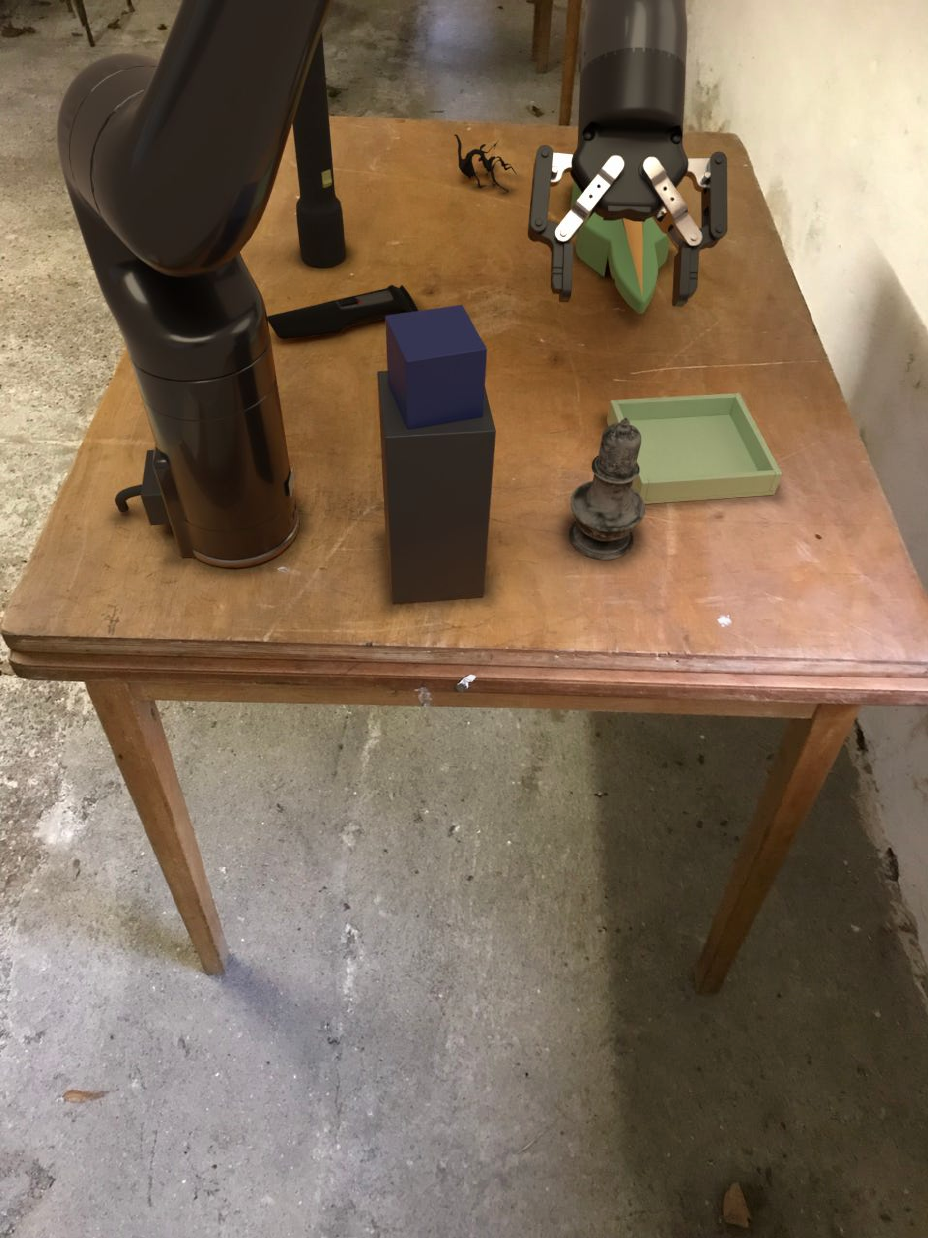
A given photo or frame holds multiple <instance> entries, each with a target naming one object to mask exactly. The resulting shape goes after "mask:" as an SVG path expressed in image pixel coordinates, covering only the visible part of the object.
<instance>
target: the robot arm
mask: <svg viewBox="0 0 928 1238" xmlns="http://www.w3.org/2000/svg"><path fill="white" fill-rule="evenodd" d="M334 2H335V0H181V1H180V4H179V6H178V9H177V12H176V15H175V18H174V20H173V22H172V26H171V28H170V31H169V33H168V35H167V39H166V42H165V44H164V47H163V49H162V52H161V55H160V57H159V59H157V58H155V57H152V56H149V55H145V54H141V53H135V52H134V53H133V52H119V53H113V54H110V55H109V54H108V55H106V56H104V57H101V58H98V59H96V60H95V61H93V62H91V63H89V64H88V65H87V66H85V67H84V68H82V70H80V72H79V73H77V75H76V76H75V77H74V78H73V79H72V81H70V84H69V86H68V87H67V89H66V91H65V93H64V94H63V97H62V100H61V103H60V106H59V109H58V115H57V120H56V145H57V152H58V160H59V164H60V168H61V172H62V173H61V174H62V176H63V180H64V183H65V187H66V190H67V193H68V196H69V198H70V202H71V204H72V208H73V211H74V214H75V215H74V216H75V218H76V221H77V224H78V227H79V231H80V233H81V236H82V238H83V242H84V245H85V248H86V251H87V254H88V257H89V259H90V262H91V265H92V268H93V272H94V275H95V277H96V280H97V283H98V286H99V289H100V291H101V294H102V296H103V298H104V302H106V305H107V307H108V310H109V311H110V313H111V314H112V317H113V319H114V320H115V322H116V324H117V326H118V329H119V331H120V333H121V336H122V338H123V341H124V345H125V348H126V351H127V354H128V357H129V361H130V365H131V367H132V371H133V374H134V377H135V381H136V384H137V387H138V390H139V394H140V397H141V400H142V405H143V407H144V411H145V414H146V417H147V421H148V424H149V428H150V431H151V434H152V438H153V441H154V449H147V450H146V454H145V461H144V468H143V474H142V475H143V476H142V483H141V484H137V485H133V486H129V487H126V488H124V489H121V490H120V491H119V492H118V493H117V494H116V495H115V497H114V503H115V505H116V507H117V509H118V512H120V513H121V514H124V513H127V512H129V509H130V508H129V506H128V503H127V501H128V500H129V499H132V498H136V497H140V499H141V501H142V504H143V509H144V510H145V514H146V518H147V521H148V523H149V525H150V526H162V525H163V526H165V525H170V527H171V529H172V532H173V535H174V539H175V543H176V545H177V549H178V553H179V555H180V557H182V558H189V557H190V558H196V559H197V560H199V561H201V562H203V563H205V564H208V565H211V566H214V567H221V568H229V569H230V568H231V569H233V568H234V569H236V568H246V567H251V566H256V565H259V564H263V563H265V562H267V561H269V560H271V559H274V558H275V557H277V556H278V555H280V554H281V553H283V552H285V551H286V549H288V548H289V546H290V545H291V544H292V543H293V542H294V541H295V539H296V537H297V535H298V532H299V529H300V521H301V520H300V514H299V513H300V512H299V508H298V505H297V497H296V494H295V489H294V487H295V482H296V478H297V477H296V476H297V475H296V469H295V463H294V461H293V463H292V466H291V462H290V455H289V449H288V442H287V436H286V431H285V424H284V417H283V411H282V403H281V397H280V391H279V385H278V377H277V372H276V365H275V359H274V358H275V357H274V353H273V352H274V351H273V345H272V338H271V333H270V326H269V322H268V319H267V316H268V314H267V308H266V303H265V301H264V297H263V295H262V293H261V291H260V289H259V287H258V285H257V283H256V281H255V280H254V278H253V276H252V274H251V272H250V270H249V269H248V267H247V265H246V263H245V260H244V257H243V256H242V254H241V251H242V250H243V249H244V248H245V246H246V245H247V244H248V243H249V241H250V240H251V238H252V237H253V235H254V234H255V232H256V231H257V229H258V227H259V224H260V222H261V220H262V218H263V216H264V213H265V211H266V208H267V206H268V203H269V201H270V198H271V195H272V192H273V189H274V185H275V183H276V179H277V176H278V173H279V169H280V167H281V163H282V160H283V157H284V152H285V150H286V147H287V143H288V139H289V136H290V133H291V129H292V127H293V126H292V123H293V119H294V116H295V113H296V109H297V106H298V103H299V99H300V96H301V92H302V89H303V86H304V83H305V79H306V76H307V73H308V70H309V67H310V64H311V61H312V58H313V55H314V52H315V49H316V46H317V43H318V41H319V38H320V35H321V33H322V34H323V30H324V27H325V25H326V23H327V20H328V17H329V14H330V12H331V10H332V7H333V5H334ZM686 2H687V1H686V0H586V1H585V5H586V6H585V15H584V21H583V27H582V32H581V46H580V57H579V61H578V73H579V94H578V95H579V96H578V120H577V121H578V122H577V125H578V126H577V146H576V149H575V150H574V152H573V154H572V153H563V152H554V149H553V148H552V147H551V146H550V145H548V144H542V145H540V146H539V147H538V148H537V150H536V155H535V158H534V162H533V169H532V180H531V189H530V190H531V191H530V202H529V212H528V224H527V238H528V239H529V240H530V241H531V242H533V243H538V242H539V243H541V244H543V245H545V246H547V247H548V248H549V249H550V253H551V258H550V259H551V260H550V283H549V284H550V285H549V287H550V290H551V293H552V295H558V303H565V304H567V303H569V302H570V301H571V299H572V293H573V273H574V272H573V271H574V269H573V268H574V247H575V246H574V245H575V244H574V243H571V242H572V241H573V240H574V239H575V237H577V234H578V232H579V231H580V230H581V229H582V228H583V227H584V225H585V224H586V223H587V222H588V220H589V219H590V218H591V217H592V215H593V214H594V213H596V214H597V215H599V216H600V217H603V220H605V221H614V220H619V219H623V218H625V219H628V220H631V221H634V222H645V220H646V219H649V218H651V217H652V218H653V219H654V221H655V222H656V224H657V225H658V227H659V228H660V230H661V231H662V232H663V233H665V234H667V236H668V237H669V239H670V240H671V242H670V243H672V245H673V247H674V248H675V249H676V251H677V252H676V254H675V255H674V257H673V273H672V274H673V275H672V295H671V298H672V299H671V306H672V307H676V308H678V307H679V308H683V307H684V306H685V305H686V304H687V303H688V302H689V300H690V299H691V298H693V296H694V295H695V293H696V291H697V289H698V286H699V285H698V284H699V282H698V281H699V263H700V251H702V250H705V249H712V248H714V247H715V246H717V244H719V242H720V241H721V240H722V239H723V238H724V237H725V236H726V235H727V233H728V158H727V157H728V156H727V155H726V154H725V153H724V152H723V151H715V152H713V153H712V155H711V156H710V157H690V158H689V157H688V156H687V154H686V152H685V149H684V144H683V143H684V142H683V139H684V119H685V100H686V78H687V77H686V76H687V58H688V57H687V56H688V19H687V7H686V6H687V5H686ZM566 173H569V175H570V177H571V179H572V180H573V183H574V182H575V183H576V185H577V186H578V188H579V189H580V191H581V192H582V195H581V196H580V197H579V199H578V200H577V201H576V203H575V204H574V206H573V207H572V209H571V208H570V210H569V211H568V212H567V214H566V215H565V216H564V218H563V219H562V220H561V221H560V223H556V222H555V221H553V220H550V219H549V209H550V207H549V206H550V196H551V195H550V194H551V188H554V187H555V188H556V187H557V186H558V185H559V184H560V182H561V179H562V176H563V175H565V174H566ZM685 177H686V178H689V179H690V180H691V181H692V186H693V189H694V190H695V191H696V192H699V193H700V200H701V201H700V209H701V211H700V218H701V221H700V222H701V223H700V225H701V227H698V225H697V224H696V223H695V221H694V220H693V218H692V217H691V215H690V213H689V208H688V206H687V203H686V202H685V200H684V198H683V197H682V196H681V195H680V193H679V191H678V190H677V188H678V186H679V185H680V184H681V183H682V181H683V179H684V178H685ZM661 214H662V215H661Z"/></svg>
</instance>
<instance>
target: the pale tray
mask: <svg viewBox="0 0 928 1238" xmlns="http://www.w3.org/2000/svg"><path fill="white" fill-rule="evenodd" d="M606 417H607V418H606V424H607V427H608V426H610V425H612V424H614V423H620V421H621V420H623V419H624V418H627V419H628V420H629V421H630V425H632V426H634V427H635V428H637V430H638V431H639V432H640V434H641V446H640V450H639V454H638V458H637V463H638V465H639V468H640V472H639V475H638V477H637V478H636V479H635V480H633V484H632V488H633V489H634V490H635V491H636V492H637V493H638V494H639V495H640V496H641V498H642V499H643V502H644V504H645V505H650V504H665V503H676V502H677V503H678V502H679V503H680V502H691V501H707V500H708V501H709V500H721V499H722V500H723V499H735V498H750V497H765V496H774V495H775V494H776V491H777V489H778V486H779V484H780V481H781V479H782V476H783V472H782V470H781V469H780V467H779V465H778V463H777V461H776V459H775V457H774V455H773V454H772V451H771V450H770V447H769V446H768V444H767V442H766V440H765V438H764V437H763V435H762V432H761V431H760V429H759V427H758V426H757V424H756V422H755V419H754V417H753V416H752V414H751V412H750V410H749V409H748V406H747V404H746V403H745V400H744V399H743V397H742V395H741V393H740V392H734V393H732V392H731V393H715V394H697V395H680V396H679V395H677V396H662V397H661V396H659V397H645V398H643V397H642V398H627V399H625V398H624V399H611V400H610V402H609V406H608V413H607V416H606Z"/></svg>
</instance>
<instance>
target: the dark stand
mask: <svg viewBox="0 0 928 1238" xmlns="http://www.w3.org/2000/svg"><path fill="white" fill-rule="evenodd" d="M376 376H377V377H376V378H377V397H378V415H379V418H378V419H379V437H380V438H379V439H380V456H381V457H380V458H381V476H382V494H383V495H382V497H383V515H384V516H383V517H384V535H385V548H386V556H387V564H388V574H389V582H390V583H389V584H390V592H391V601H392V605H400V604H412V603H426V602H437V601H438V602H439V601H449V600H462V599H476V598H483V597H484V596H485V585H486V571H487V557H488V544H489V530H490V516H491V505H492V489H493V479H494V466H495V465H494V463H495V449H496V439H497V437H496V436H497V430H496V425H495V422H494V417H493V413H492V408H491V405H490V401H489V396H488V392H487V388H486V387H485V394H484V410H483V417H478V418H472V419H466V420H461V421H455V422H449V423H443V424H438V425H432V426H426V427H420V428H415V429H409V430H408V429H407V426H406V424H405V422H404V419H403V417H402V415H401V412H400V410H399V408H398V405H397V403H396V401H395V398H394V396H393V394H392V391H391V389H390V387H389V384H388V372H387V370H377V372H376Z"/></svg>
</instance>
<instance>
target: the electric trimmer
mask: <svg viewBox="0 0 928 1238" xmlns="http://www.w3.org/2000/svg"><path fill="white" fill-rule="evenodd" d="M415 311H419V308H418V307H417V305H416V303H415V301H414V299H413V298H412V296H411V294H410V293H409V292H408V290H407V289H406V288H405V286H404V285H403V284H401V285H400V286H399V287H398V286H396V285H394V284H389V285H388V286H387V287H386V288H382V289H376V290H373V291H369V292H365V293H360V294H359V293H358V294H356V295H351V296H347V297H342V298H338V299H333V300H329V301H325V302H322V303H318V304H314V305H309V306H305V307H300V308H297V309H292V310H287V311H284V312H279V313H275V314H270V315H267V319H268V325H270V327H271V329H272V331H273V332H274V334H275V335H276V336H277V338H278V339H280V340H291V339H301V338H310V337H319V336H326V335H333V334H340V333H342V332H343V331H344V330H345V329H346V328H347V327H352V326H356V325H360V324H361V325H362V324H366V323H371V322H377V321H381V320H385V316H388V315H394V314H401V313H408V312H415Z"/></svg>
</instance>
